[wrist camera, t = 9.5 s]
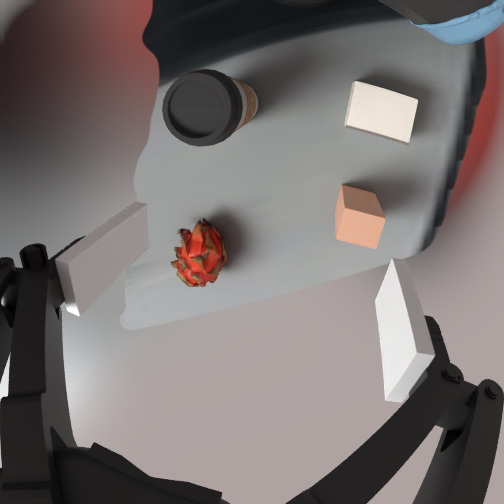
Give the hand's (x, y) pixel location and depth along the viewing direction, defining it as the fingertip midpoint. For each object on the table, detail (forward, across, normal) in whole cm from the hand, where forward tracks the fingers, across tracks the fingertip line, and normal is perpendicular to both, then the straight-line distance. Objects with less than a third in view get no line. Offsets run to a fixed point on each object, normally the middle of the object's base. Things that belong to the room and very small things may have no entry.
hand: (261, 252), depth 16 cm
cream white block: (+30, +9, +8) cm, 33 cm away
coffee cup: (+31, -10, +5) cm, 33 cm away
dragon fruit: (+31, -13, -18) cm, 38 cm away
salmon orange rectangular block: (+30, +8, -6) cm, 32 cm away
